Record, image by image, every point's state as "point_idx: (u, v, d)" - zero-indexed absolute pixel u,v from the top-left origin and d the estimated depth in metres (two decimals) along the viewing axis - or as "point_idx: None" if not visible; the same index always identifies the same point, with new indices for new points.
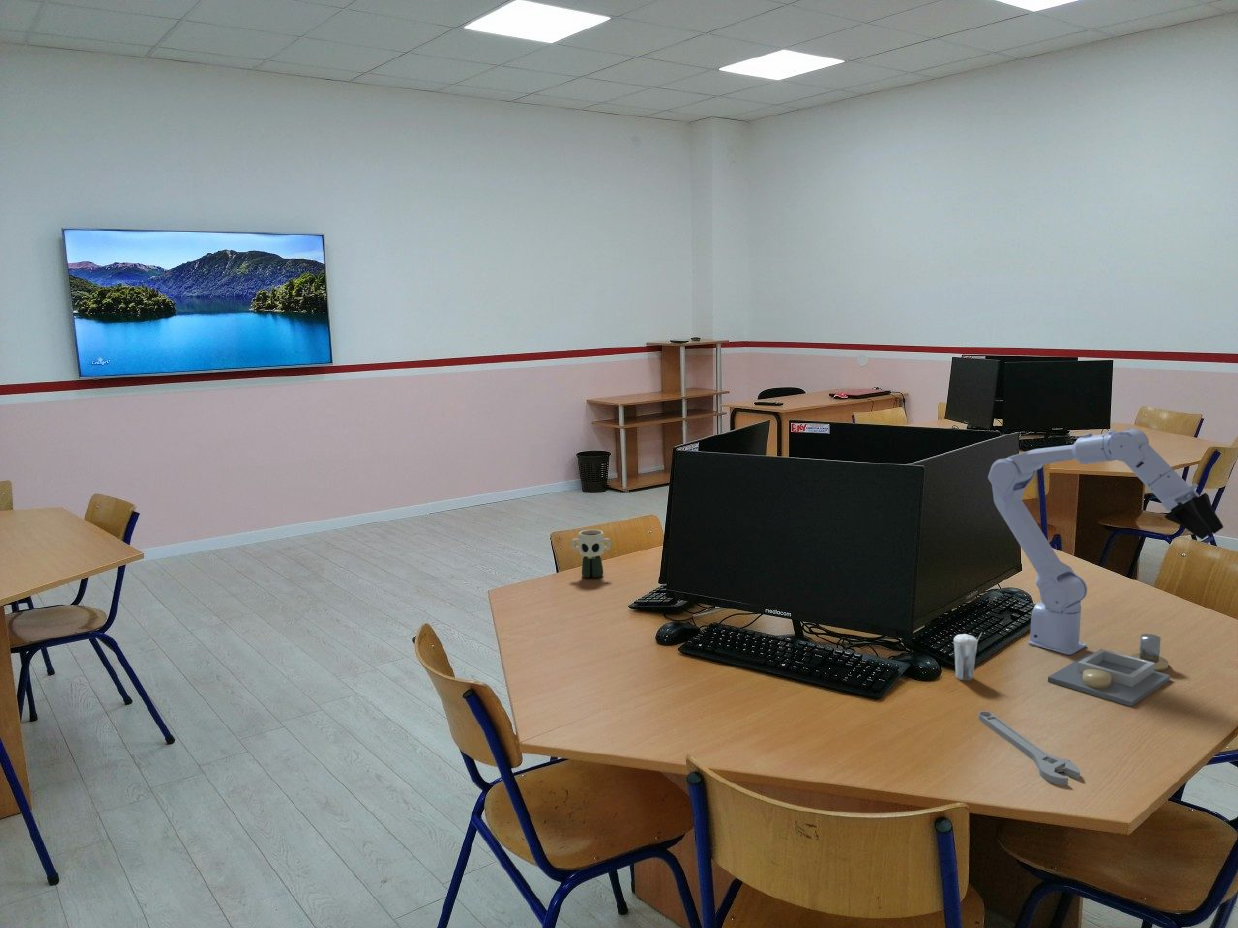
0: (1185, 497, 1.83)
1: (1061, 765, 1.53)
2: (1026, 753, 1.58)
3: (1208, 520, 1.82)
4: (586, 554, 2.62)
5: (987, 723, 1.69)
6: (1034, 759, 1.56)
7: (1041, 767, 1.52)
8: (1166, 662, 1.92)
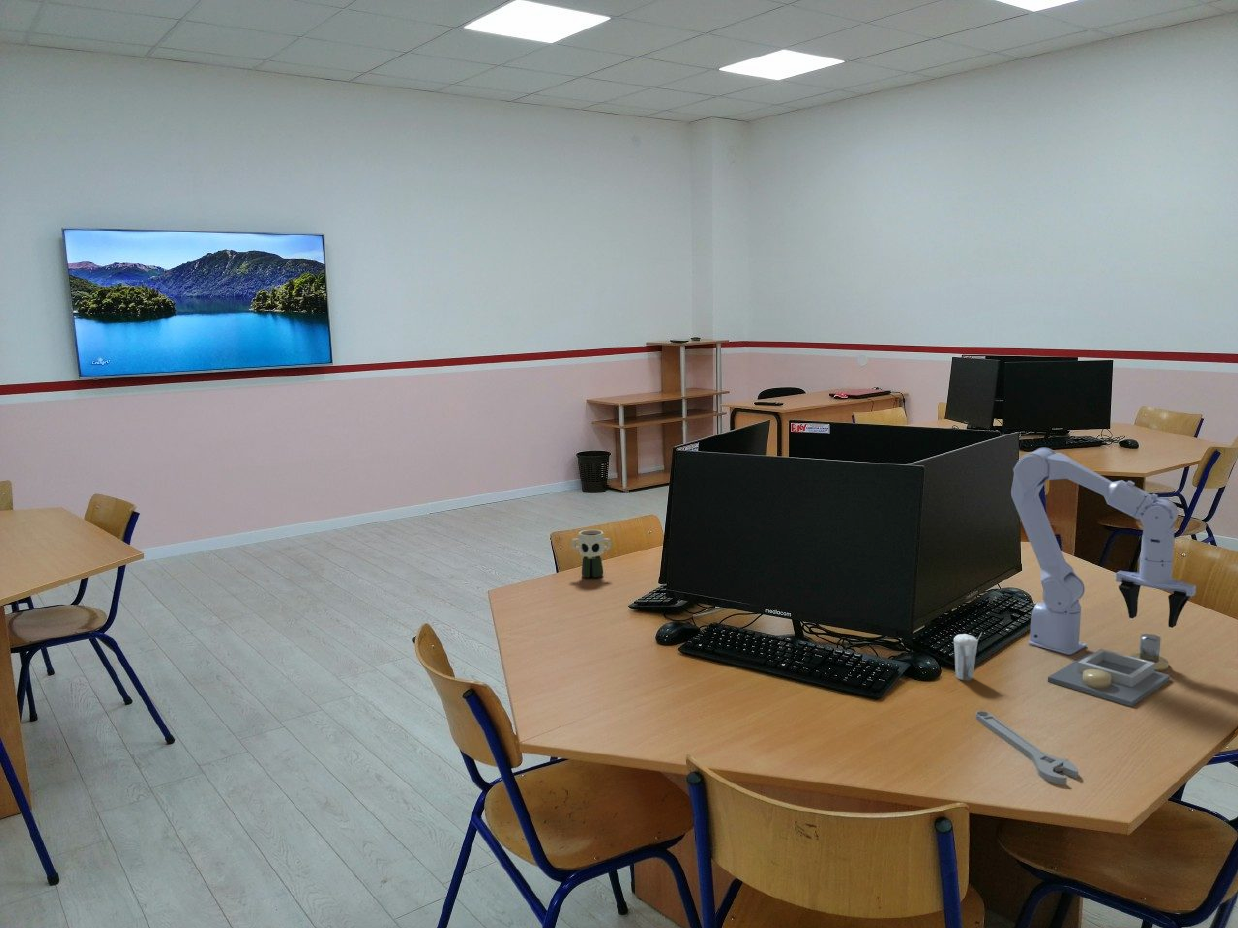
0: None
1: (1059, 764, 1.53)
2: (1024, 753, 1.58)
3: (1133, 605, 1.94)
4: (586, 554, 2.62)
5: (984, 723, 1.69)
6: (1032, 759, 1.56)
7: (1039, 767, 1.52)
8: (1166, 662, 1.92)
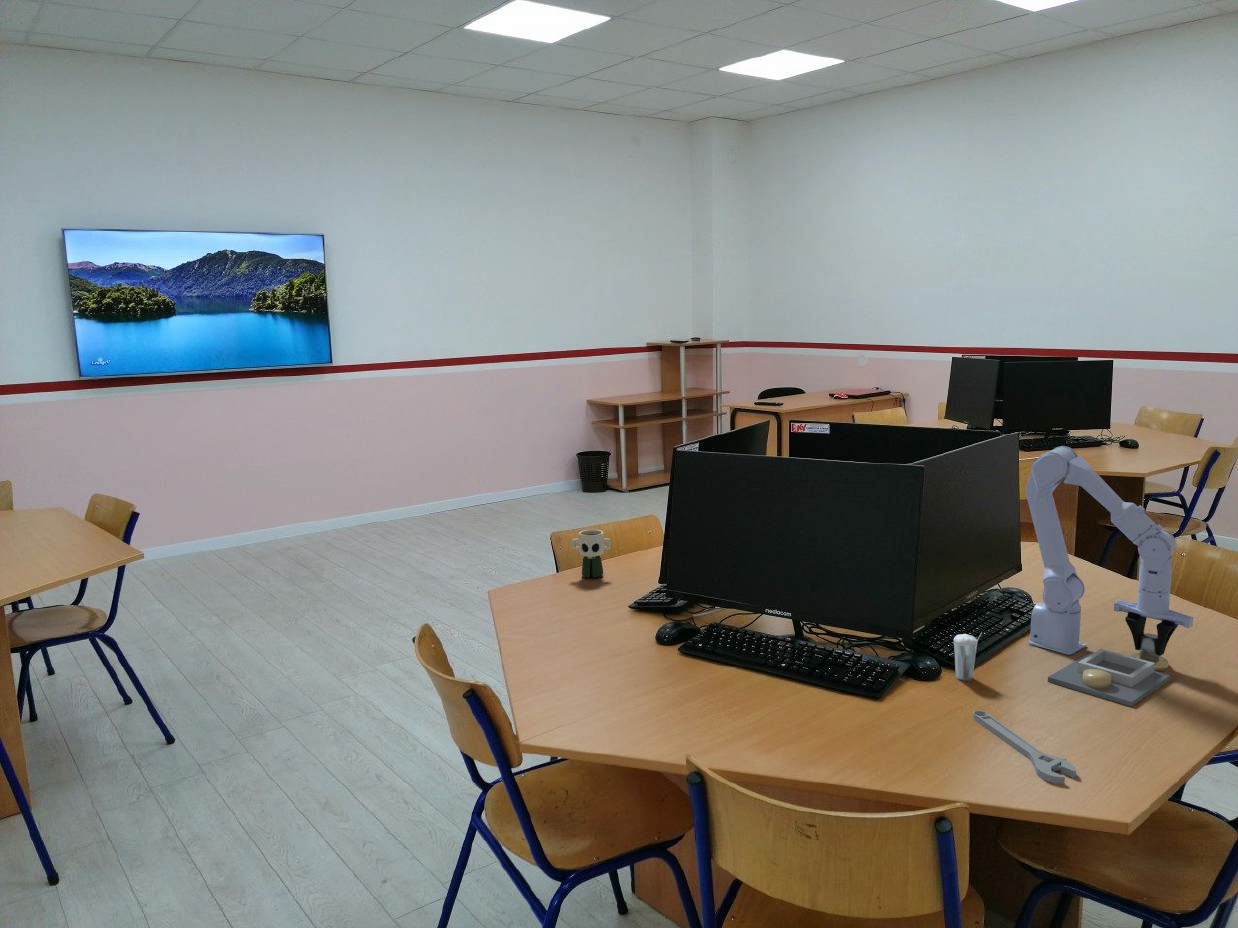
0: None
1: (1057, 764, 1.53)
2: (1022, 752, 1.59)
3: (1139, 637, 1.94)
4: (586, 554, 2.62)
5: (982, 722, 1.69)
6: (1030, 758, 1.56)
7: (1038, 766, 1.52)
8: (1166, 662, 1.92)
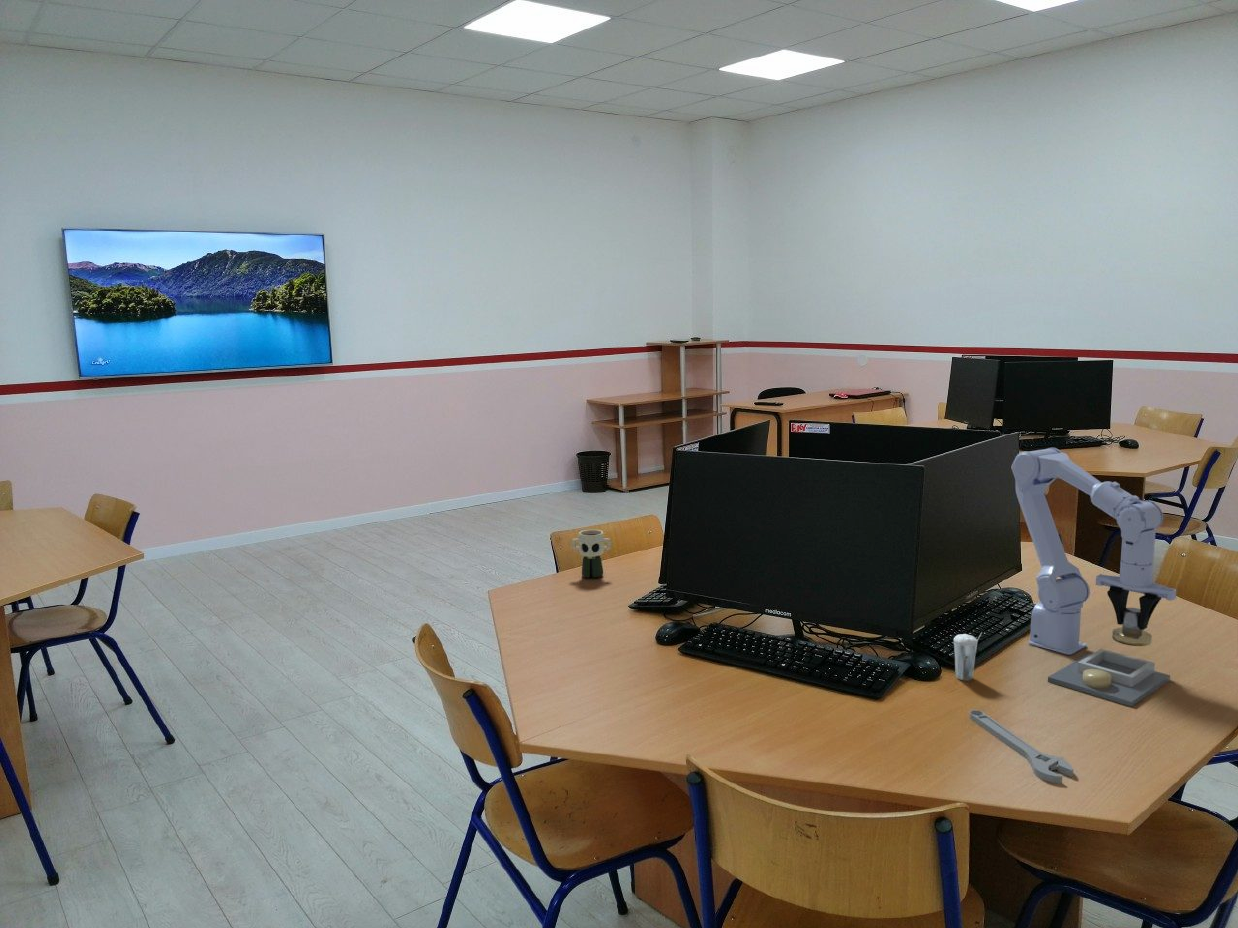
0: None
1: (1054, 763, 1.53)
2: (1019, 751, 1.59)
3: (1121, 611, 1.90)
4: (586, 554, 2.62)
5: (979, 722, 1.70)
6: (1027, 757, 1.56)
7: (1035, 765, 1.52)
8: (1149, 636, 1.87)
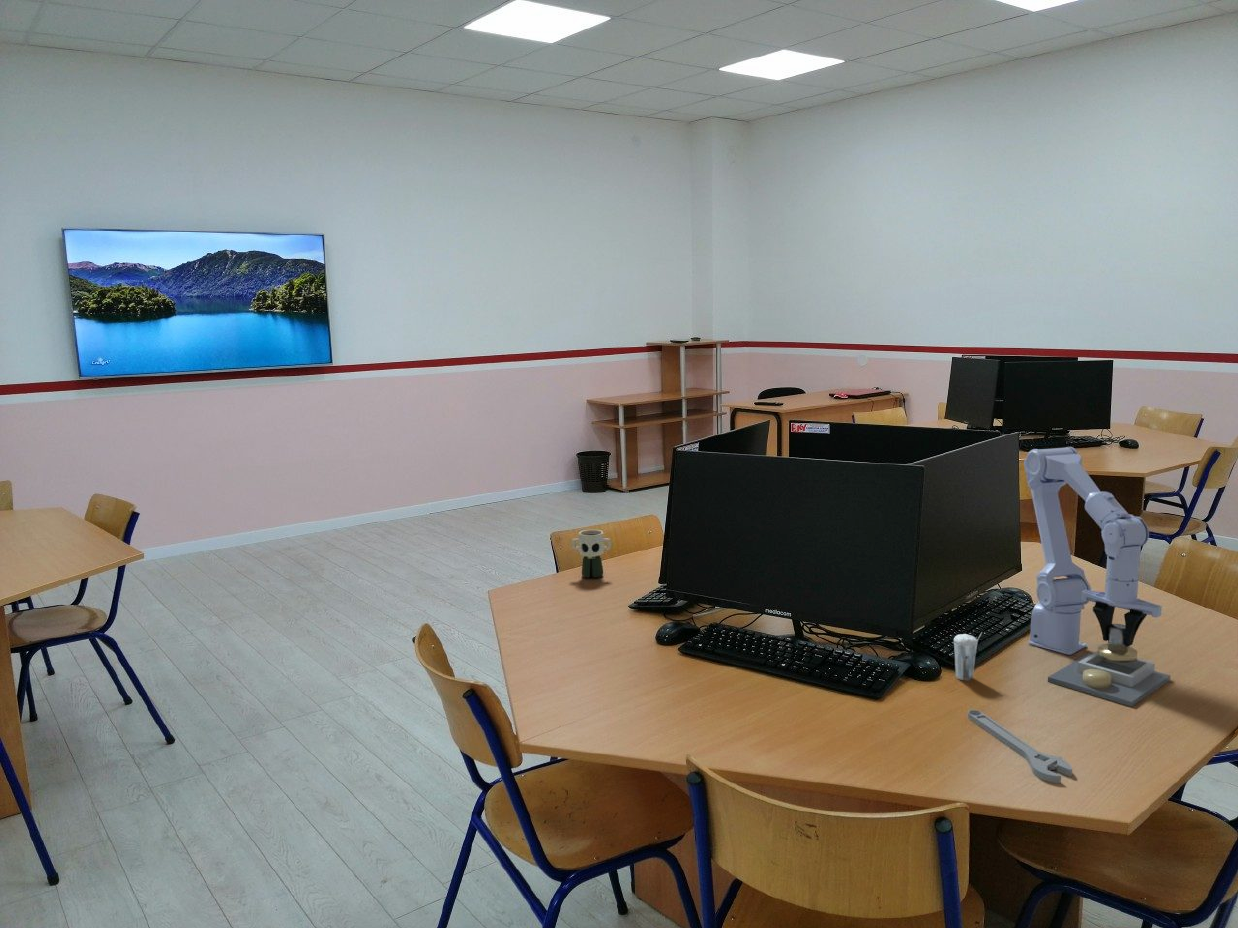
0: None
1: (1053, 763, 1.53)
2: (1017, 751, 1.59)
3: (1107, 627, 1.88)
4: (586, 554, 2.62)
5: (977, 722, 1.70)
6: (1026, 757, 1.57)
7: (1034, 765, 1.53)
8: (1135, 652, 1.86)
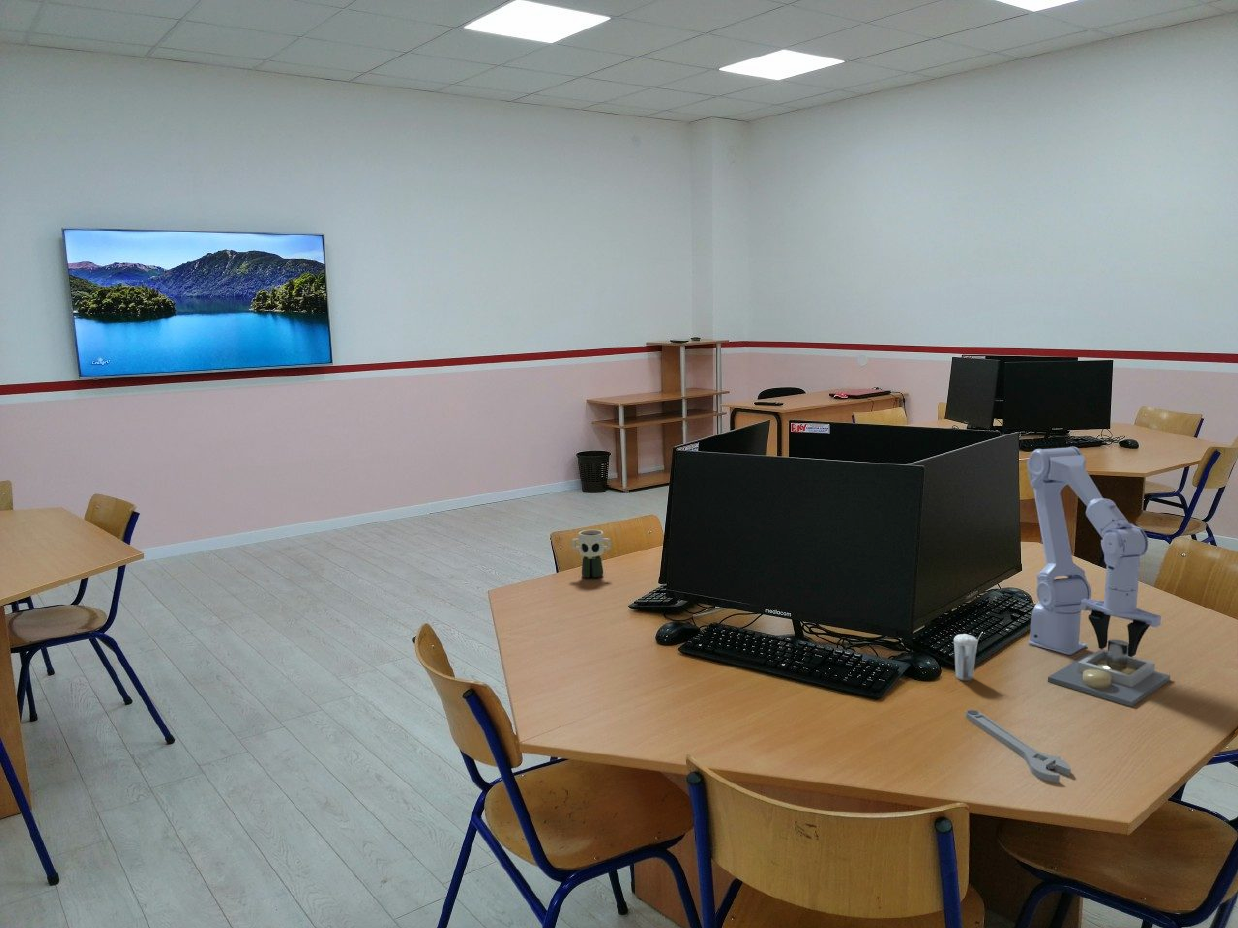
0: None
1: (1052, 762, 1.54)
2: (1016, 751, 1.59)
3: (1103, 635, 1.89)
4: (586, 554, 2.62)
5: (975, 721, 1.70)
6: (1024, 757, 1.57)
7: (1032, 765, 1.53)
8: (1134, 669, 1.86)
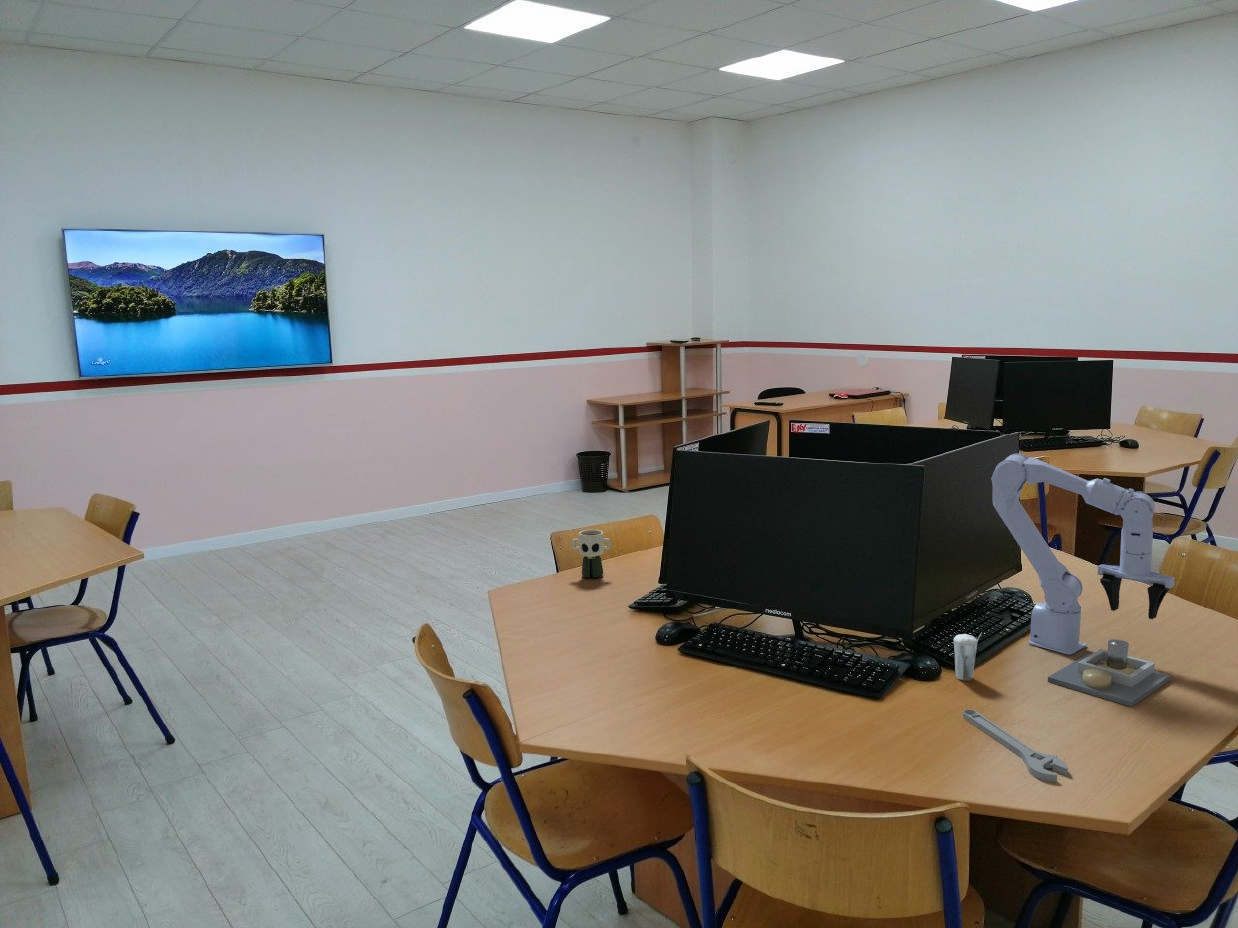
0: None
1: (1049, 761, 1.54)
2: (1013, 750, 1.59)
3: (1114, 598, 1.98)
4: (586, 554, 2.62)
5: (972, 721, 1.70)
6: (1022, 756, 1.57)
7: (1030, 764, 1.53)
8: (1134, 669, 1.86)
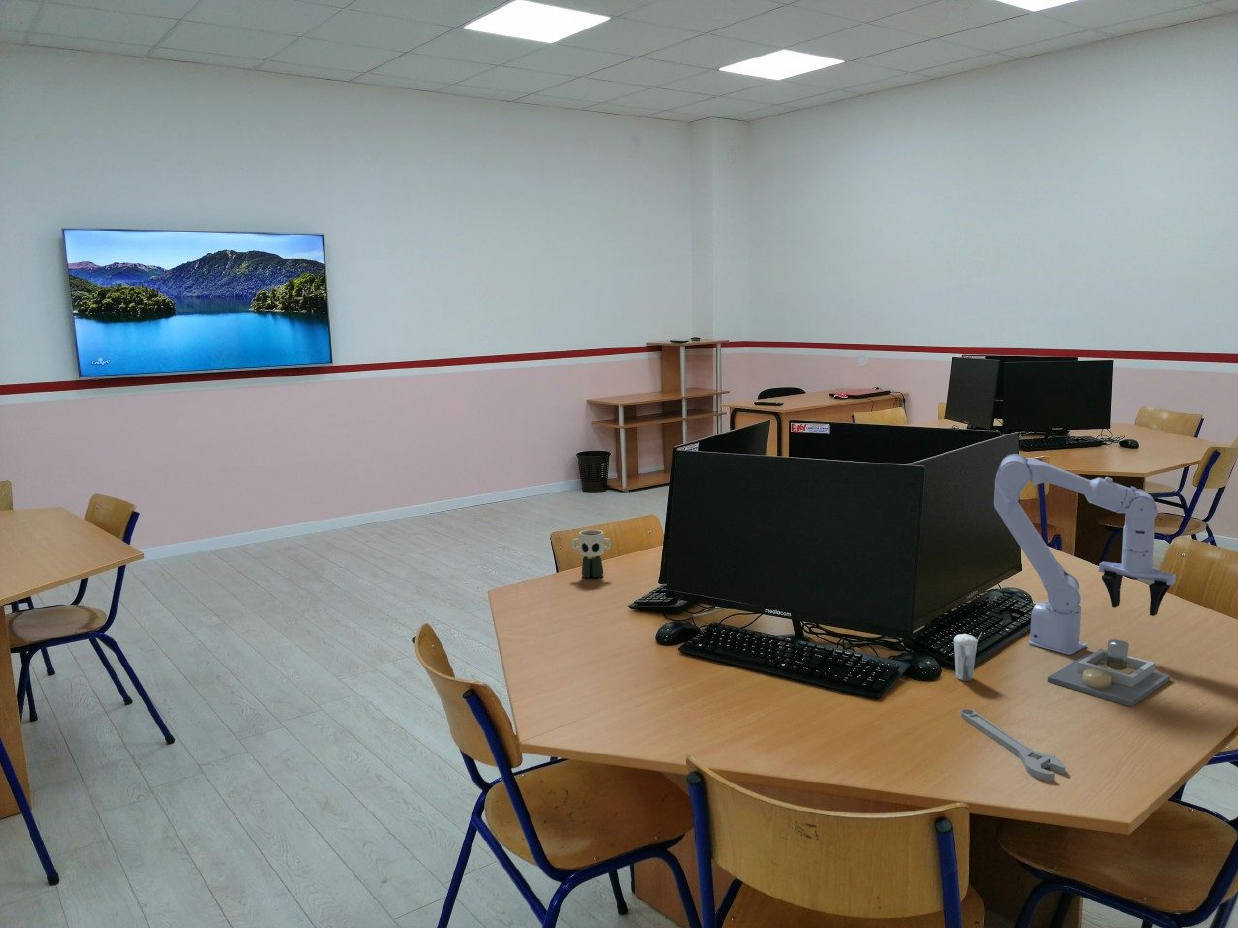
0: None
1: (1046, 761, 1.54)
2: (1011, 750, 1.60)
3: (1116, 595, 2.00)
4: (586, 554, 2.62)
5: (970, 721, 1.70)
6: (1019, 755, 1.57)
7: (1027, 763, 1.53)
8: (1134, 669, 1.86)
